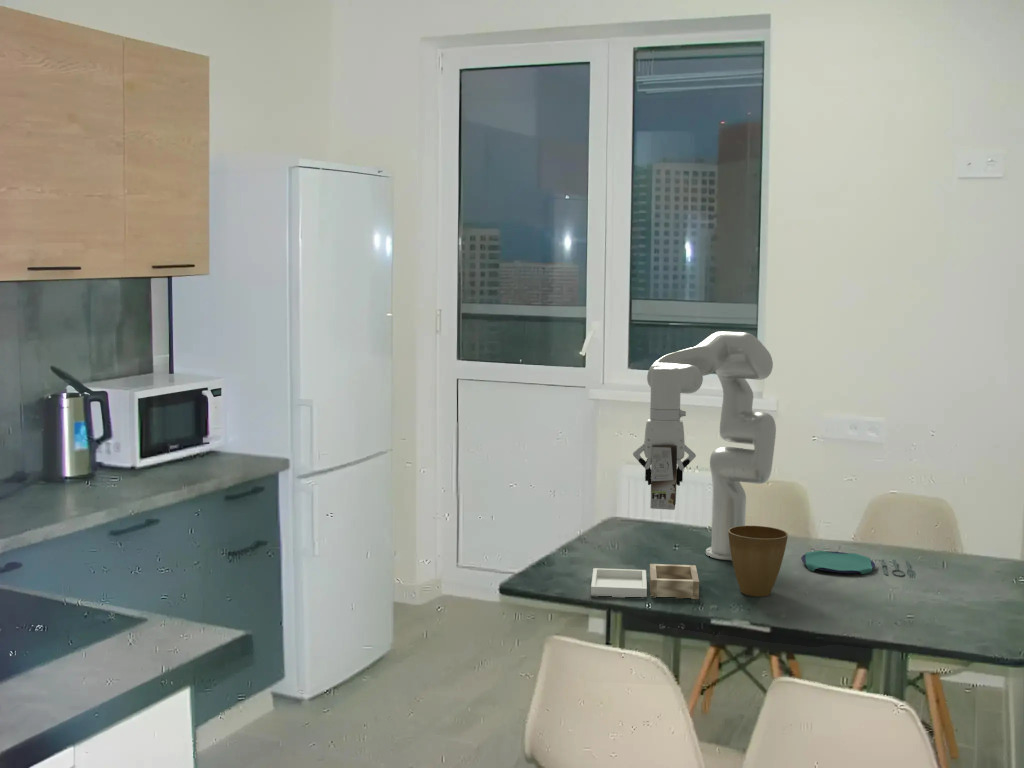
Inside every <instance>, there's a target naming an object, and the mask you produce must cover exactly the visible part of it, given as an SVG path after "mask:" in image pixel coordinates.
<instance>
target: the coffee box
mask: <svg viewBox="0 0 1024 768" xmlns="http://www.w3.org/2000/svg"><path fill="white" fill-rule="evenodd" d="M650 468H651V484H650V505H649V506H650V509H652V510H671V511H673V510H675V509H676V504H677V503H676V501H677V468H678V464H677V446H672V445H662V446H652V461H651V465H650Z"/></svg>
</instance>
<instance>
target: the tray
mask: <svg viewBox="0 0 1024 768" xmlns="http://www.w3.org/2000/svg"><path fill="white" fill-rule="evenodd" d="M591 576H592V578H591V584H590V596H591V597H598V596H612V597H611V598H625V597H648V593H647V592H648V586H647V585H648V583H647V569H627V568H624V569H623V568H600V567H599V568H598V567H597V568H596V567H595V568H594V567H593V569H592V575H591Z"/></svg>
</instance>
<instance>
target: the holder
mask: <svg viewBox="0 0 1024 768" xmlns="http://www.w3.org/2000/svg"><path fill="white" fill-rule="evenodd" d="M697 570H698V569H697V566H696V565H695V564H694V565H692V564H670V563H669V564H663V563H661V564H660V563H649V590H650V591H649V592H650V594H651V595H650V594H649V595H650V597H651V596H655V597H654V598H656V596H657V597H676V598H675V599H683V598H691V600H699V599H700V580H699V575H698V571H697Z"/></svg>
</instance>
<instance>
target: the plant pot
mask: <svg viewBox="0 0 1024 768" xmlns="http://www.w3.org/2000/svg"><path fill="white" fill-rule="evenodd" d="M728 535H729V544H730V551H731V557H732V560H731V562H732V566H733V570H734V574H735V578H736V581H737V584H738V588H739V590H740V592H741V594H743V595H745V596H749V597H761V598H762V597H767V596H770V595H771V592H772V590H773V588H774V586H775V583H776V581H777V578H778V575H779V573H780V570H781V568H782V564H783V560H784V555H785V552H786V547H787V542H788V537H789V533H788V532H787V531H786V530H783V529H780V528H776V527H770V526H764V525H745V526H736V527H732V528H730V529H729V530H728Z"/></svg>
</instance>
